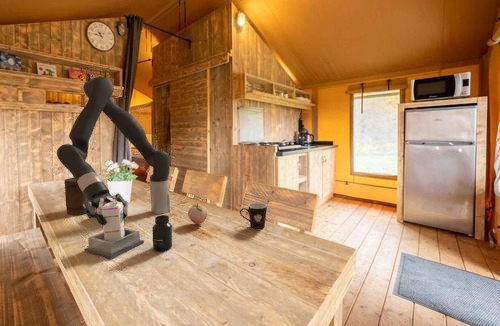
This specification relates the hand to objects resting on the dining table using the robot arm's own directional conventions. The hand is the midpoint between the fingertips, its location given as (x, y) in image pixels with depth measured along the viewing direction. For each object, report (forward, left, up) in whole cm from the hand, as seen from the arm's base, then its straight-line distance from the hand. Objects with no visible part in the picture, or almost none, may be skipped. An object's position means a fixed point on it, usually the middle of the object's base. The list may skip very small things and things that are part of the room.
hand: (115, 220), depth 91 cm
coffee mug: (-56, +3, -11) cm, 57 cm away
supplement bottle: (-15, +8, -11) cm, 20 cm away
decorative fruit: (-33, -10, -11) cm, 36 cm away
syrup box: (+1, -1, -9) cm, 9 cm away
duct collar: (+1, -1, -11) cm, 11 cm away
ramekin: (+3, -39, -11) cm, 41 cm away
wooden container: (+19, -57, -11) cm, 61 cm away
